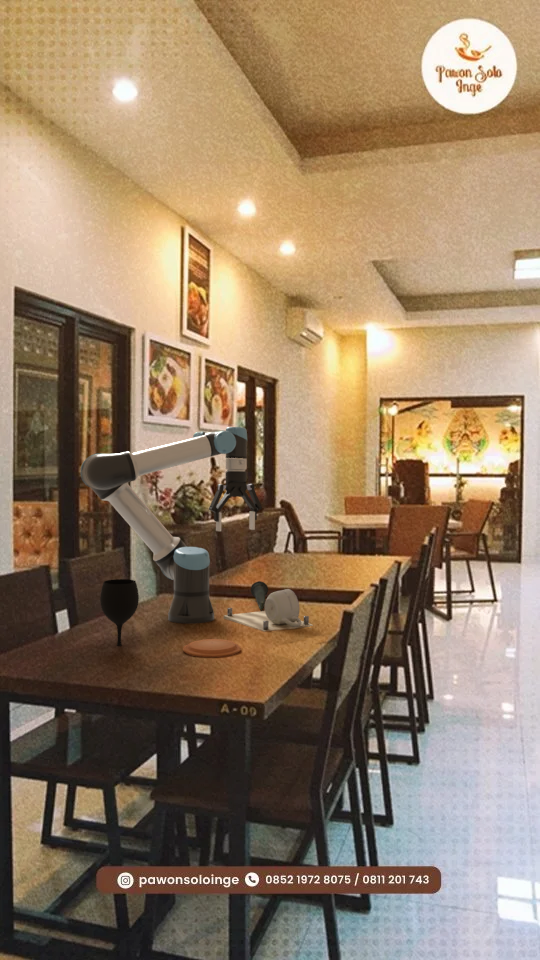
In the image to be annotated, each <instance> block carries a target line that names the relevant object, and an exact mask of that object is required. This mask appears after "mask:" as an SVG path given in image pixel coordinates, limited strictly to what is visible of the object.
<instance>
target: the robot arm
mask: <svg viewBox="0 0 540 960" xmlns="http://www.w3.org/2000/svg"><path fill="white" fill-rule="evenodd" d="M247 432H248V431H247V429H246V428H245V427H242V426H227V427H226V429H225V430H224V429H223V430H219V431H196V432H195V433H193V434H192V435H193V436H192V438H187V439H184V440H180V441H176V442H175V441H174V442H171V443H167V444H164V445H160V446H156V447H151V448H149V449H145V450H139V451H137V452H133V453H132V452H130V451H128V450H127V451H123V452H120V453H100V452H98V453H94V454H91V455H90V456H88V457H87V458H85V459H84V461H83V462H82V464H81V466H80V477H81V480H82V482H83V483H84V484H85V486H87V487H88V488H90V489H91V490H92V491H93V492H94V493H95V495H97V497H98V498H99V499H100V500H101V501H105V502H109V503H110V505H111V506H112V507H113V508H114V509H115V511H116V512H117V513H118V514H119V515H120V516H121V517H122V518H123V520H124V521H125V522H126V523H127V524H128V525H129V527H130V528H131V529H132V530H133V531H134V532H135V534H136V535H137V536H138V538H140V539H141V541H142V542H144V544H145V546H147V547H148V549H150V551H151V552H152V553H153V557H152V560H153V561H154V562H155V564H156V565H157V566H158V567H159V569H160V571H161V572H162V574H163V575H164V576H165V577H166V578H167V579H169V580H171V581H173V598H172V600H171V604H170V607H169V610H168V613H167V615H168V617H167V621H169V622H171V623H177V624H205V623H210V622H212V621H214V620H215V611H214V608H213V607H214V606H213V604H212V602H211V599H210V598H211V597H210V564H211V559H210V554H209V552H208V550H206V549H205V548H204V547H203V548H202V547H198V546H187V544H185V543H184V541H183V539H181V538H180V536H173V535H172V534H171V533H170V532H169V530H167V528H166V527H165V526H164V525H163V523H161V521H160V520H159V519H158V518H157V516H156V515H155V514H154V513H153V511H151V509H150V508H149V507H148V506H147V505H146V503H145V502H144V501H143V500H142V499H141V498H140V497H139V495H138V494H137V493H136V492H135V490H133V488H132V487H131V486H130V485H129V483H131V482H135V481H137V479H138V477H140V476H144V475H148V474H151V473H156V472H160V471H162V470H166V469H170V468H174V467H177V466H180V465H185V464H189V463H191V462H192V463H193V462H196V461H199V460H204V459H207V458H211V457H215V456H219V455H225V470H227V471H225V485H224V484H220V483H219V484H217V487H216V492H215V494H214V496H213V499H212V501H211V503H210V505H209V506H208V510H209V511H211V512H213V521H214V522H215V532H222V518H223V517H222V512H221V510H222V509H223V508H224V507H225V505H226V504H227V502H228V500H229V499H231V498H232V497H233V498H239V497H240V498H242V499H243V501H244V502H245V504H246V505H247V506H248V507H249V509H250V511H248V512H249V517H248V518H249V521H248V522H249V523H248V524H249V525H248V526H249V528H248V529H249V530H251V531H255V530H256V527H255V526H256V521H257V518H258V512H259V510H262V509H263V506H262V505H261V502H260V499H259V497H258V495H257V492H256V489H255V484H253V483H248V484H247V481H248V480H247V479H248V477H247V471H246V470H247V468H248V467H247V465H248V456H247V455H248V454H247V453H248V451H247V450H248V433H247ZM247 490H248V493H249V494H248V493H247V492H246V491H247ZM224 491H225V493H224ZM223 493H224V494H223ZM222 495H223V496H222ZM249 496H250V497H249ZM221 497H222V498H221Z"/></svg>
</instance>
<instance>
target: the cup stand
mask: <svg viewBox="0 0 540 960" xmlns="http://www.w3.org/2000/svg"><path fill="white" fill-rule="evenodd" d="M226 609H227V610H226V611H227V613H226V614H224V615H223V620H224V619H225V620H227V621H231V622H234V623H236V624H239V625H244V626H246V627H249V628H251V629H255V630H258V631H261V632H264V633H265V632H272V631H280V630H281V631H282V630H294V629H302V628H305V627H310V626H313V627H314V625H313V624H312V623H309V622H310V616H309V615H304V616H303V621H302V620H301V625H300V626H299V627H292V626H289V625H288V624H280V625H278V624H274V623H273V622H271V621H270V620H269V619H268V617H267V615H266V613H265V610H260V611H253V612H252V611H251V612H243V613H234V614H233V607H227V608H226ZM294 623H298V622H297V621H295V622H294Z"/></svg>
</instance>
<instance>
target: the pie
mask: <svg viewBox="0 0 540 960" xmlns="http://www.w3.org/2000/svg"><path fill="white" fill-rule="evenodd" d="M182 649H183V650H182V651H183V652H184V653H185V655H188V656H192V657H199V658H223V657H229V656H235V655H237V654H239V653H240V651H241V649H242V647H241V646H240V645H239V644H238V643H235V642H234V641H232V640H228V639H220V638H208V639H206V638H204V639H197V640H194V641H191V642H189V643H188V644H186V645H183V647H182Z"/></svg>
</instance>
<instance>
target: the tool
mask: <svg viewBox="0 0 540 960" xmlns="http://www.w3.org/2000/svg"><path fill="white" fill-rule="evenodd" d="M268 591H269V587H268V585H267V584H266V583H265V582H264V581H260V580H259V581H255V582H253V583H252V585H251V586H250V593H251V594H252V596H253V597H254V598H255V600H256V603H257V606H258V609H259V610H260V611H263V610H262V609H264V608H265V602H266V595H267V594H268Z"/></svg>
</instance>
